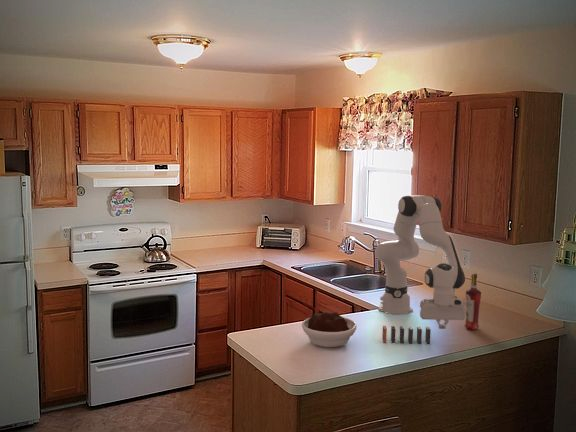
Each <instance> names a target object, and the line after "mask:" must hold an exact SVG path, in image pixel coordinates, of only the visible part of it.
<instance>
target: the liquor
mask: <svg viewBox="0 0 576 432" xmlns="http://www.w3.org/2000/svg"><path fill="white" fill-rule="evenodd" d="M477 281H478V273H476V272H473V273H471V284H470V288H469V289H467V290H465V324H464V327H465V328H466V329H467V330H469V331H476V330H477V329H478V328H479V327H480V326H479V316H480V307H481V299H482V298H481V297H482V292H481V291H480V290H479V289H478V286H477V285H478V284H477Z"/></svg>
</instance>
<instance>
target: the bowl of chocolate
mask: <svg viewBox="0 0 576 432" xmlns="http://www.w3.org/2000/svg"><path fill="white" fill-rule="evenodd" d="M301 327H302V330H303V332H304V333H305V335H307V336H308V339H309V341H310V342H311V343H312V344H314V345H316V346H318V347H322V348H337V347H342V346H344V345H346V344H348V342H349V340H350V338H351V336H353V335H354V333H355V332H356V330H357V324H356V322H355V321H354V320H352V319H349V318H348V317H343V316H342V315H340V314H339V312H338V311H335V312H327V311H324V312H321V313H314V314H311V316H310V317H308V318H306V319H304V320H303V321H302V323H301Z"/></svg>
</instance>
